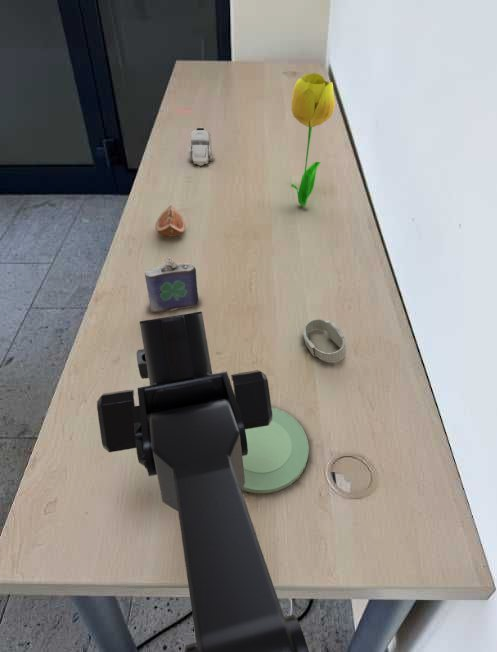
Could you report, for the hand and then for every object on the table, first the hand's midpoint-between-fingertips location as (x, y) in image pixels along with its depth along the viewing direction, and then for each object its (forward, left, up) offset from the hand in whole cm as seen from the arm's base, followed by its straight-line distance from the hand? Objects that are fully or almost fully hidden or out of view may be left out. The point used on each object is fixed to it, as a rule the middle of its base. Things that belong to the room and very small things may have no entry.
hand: (185, 399), depth 62 cm
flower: (+69, -17, -13) cm, 72 cm away
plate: (+1, -10, -12) cm, 16 cm away
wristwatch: (+22, -20, -13) cm, 32 cm away
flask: (+31, +8, -13) cm, 35 cm away
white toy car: (+91, +11, -13) cm, 93 cm away
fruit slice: (+55, +13, -13) cm, 58 cm away
